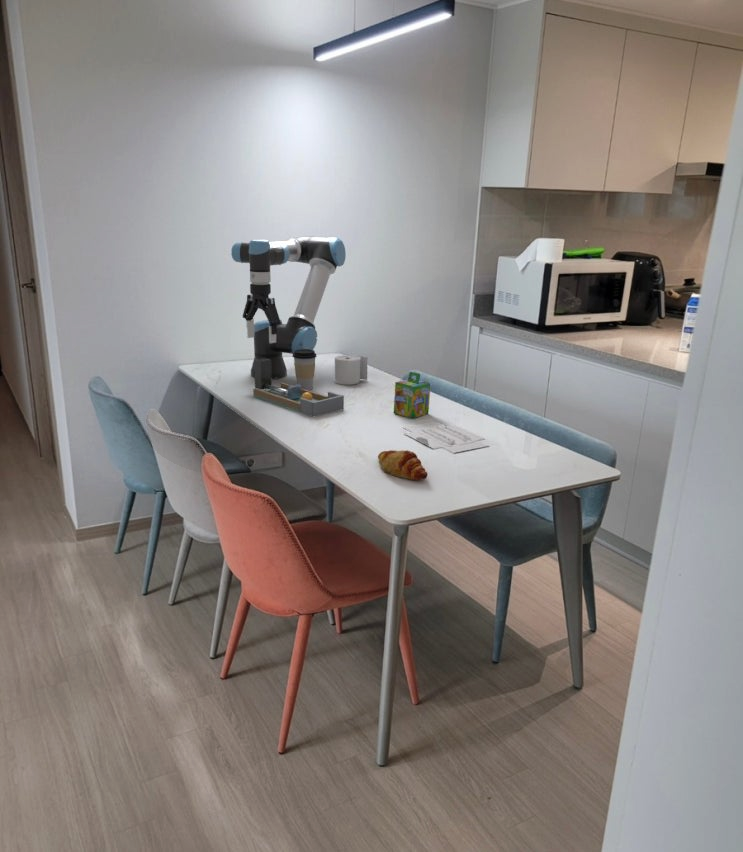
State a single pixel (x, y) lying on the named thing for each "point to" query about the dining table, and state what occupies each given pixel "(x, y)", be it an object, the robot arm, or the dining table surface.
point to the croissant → (402, 464)
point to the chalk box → (412, 397)
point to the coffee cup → (304, 367)
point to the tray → (445, 437)
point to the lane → (285, 397)
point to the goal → (322, 405)
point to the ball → (307, 396)
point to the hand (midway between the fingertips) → (261, 340)
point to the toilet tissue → (350, 369)
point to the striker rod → (264, 379)
